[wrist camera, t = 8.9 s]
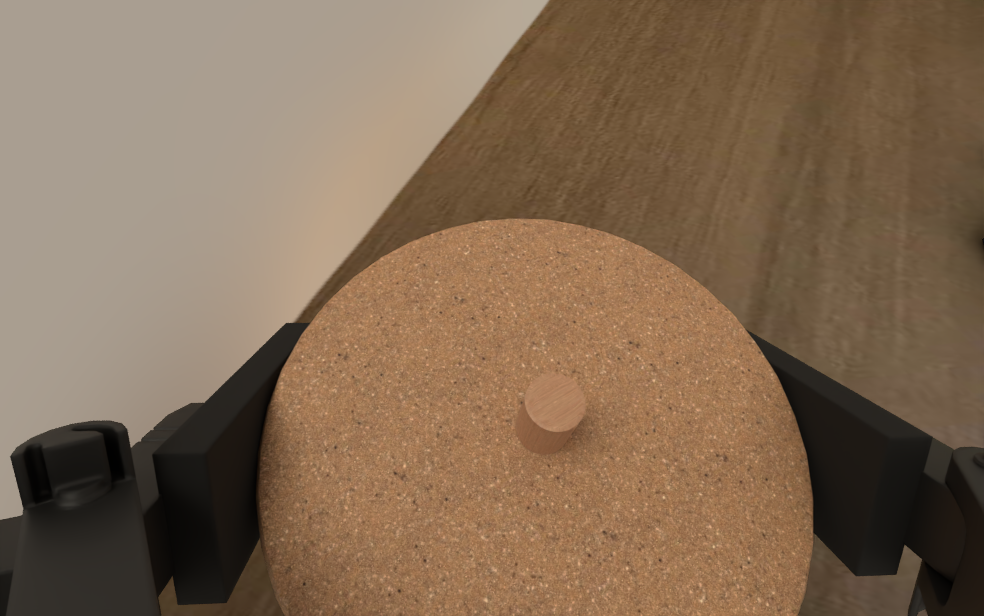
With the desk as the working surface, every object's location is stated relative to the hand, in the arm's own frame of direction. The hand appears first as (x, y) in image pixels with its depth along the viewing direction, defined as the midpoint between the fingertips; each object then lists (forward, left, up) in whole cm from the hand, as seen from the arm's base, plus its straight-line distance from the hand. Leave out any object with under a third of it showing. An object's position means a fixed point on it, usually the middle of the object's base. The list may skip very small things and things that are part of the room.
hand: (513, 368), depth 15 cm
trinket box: (-1, -3, -4) cm, 5 cm away
